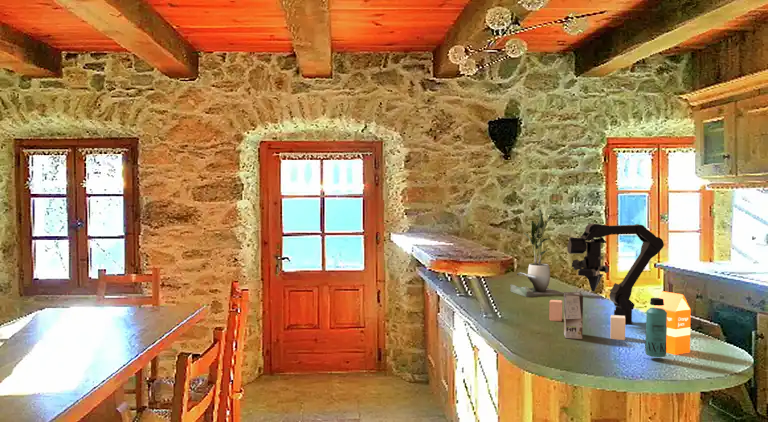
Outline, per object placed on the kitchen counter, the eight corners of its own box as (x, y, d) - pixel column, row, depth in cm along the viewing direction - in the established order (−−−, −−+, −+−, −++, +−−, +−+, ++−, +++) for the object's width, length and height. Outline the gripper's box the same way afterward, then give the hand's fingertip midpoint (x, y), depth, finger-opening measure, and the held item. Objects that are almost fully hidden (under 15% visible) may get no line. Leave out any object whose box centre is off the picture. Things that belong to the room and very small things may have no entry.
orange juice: (674, 354, 213) (675, 295, 213) (652, 349, 221) (653, 291, 221) (690, 352, 217) (691, 293, 216) (668, 346, 225) (669, 289, 224)
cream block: (624, 337, 239) (624, 315, 239) (625, 340, 235) (625, 318, 234) (610, 336, 241) (610, 314, 241) (610, 338, 236) (610, 317, 236)
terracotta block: (562, 319, 273) (562, 300, 272) (561, 321, 268) (561, 302, 268) (550, 318, 274) (550, 299, 274) (549, 320, 269) (549, 301, 269)
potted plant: (526, 297, 328) (527, 209, 327) (510, 291, 346) (510, 208, 345) (564, 295, 334) (565, 209, 332) (546, 289, 352) (547, 208, 350)
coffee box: (583, 339, 236) (583, 295, 235) (564, 338, 237) (565, 295, 236) (580, 333, 245) (581, 291, 244) (563, 333, 246) (563, 291, 245)
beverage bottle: (641, 356, 211) (642, 296, 210) (660, 356, 211) (661, 296, 211) (651, 362, 204) (652, 300, 204) (671, 361, 205) (671, 299, 204)
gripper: (583, 250, 277) (582, 286, 277) (565, 254, 262) (565, 292, 263) (609, 252, 270) (608, 289, 270) (592, 256, 255) (592, 295, 256)
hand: (593, 291), depth 265 cm, fingers closed
